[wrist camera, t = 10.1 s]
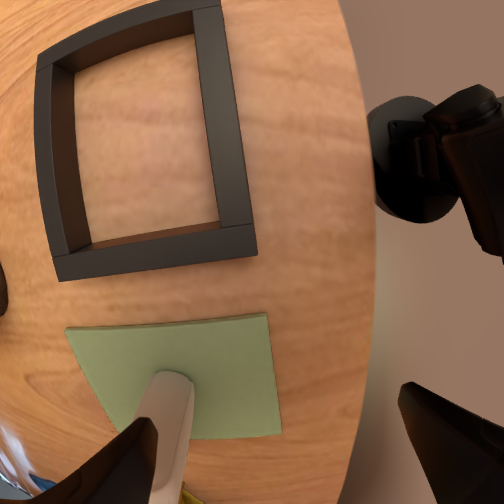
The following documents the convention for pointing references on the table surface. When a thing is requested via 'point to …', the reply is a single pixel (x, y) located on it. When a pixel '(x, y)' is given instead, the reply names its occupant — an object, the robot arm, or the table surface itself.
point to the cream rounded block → (168, 430)
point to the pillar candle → (2, 294)
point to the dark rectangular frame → (65, 155)
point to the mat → (187, 371)
